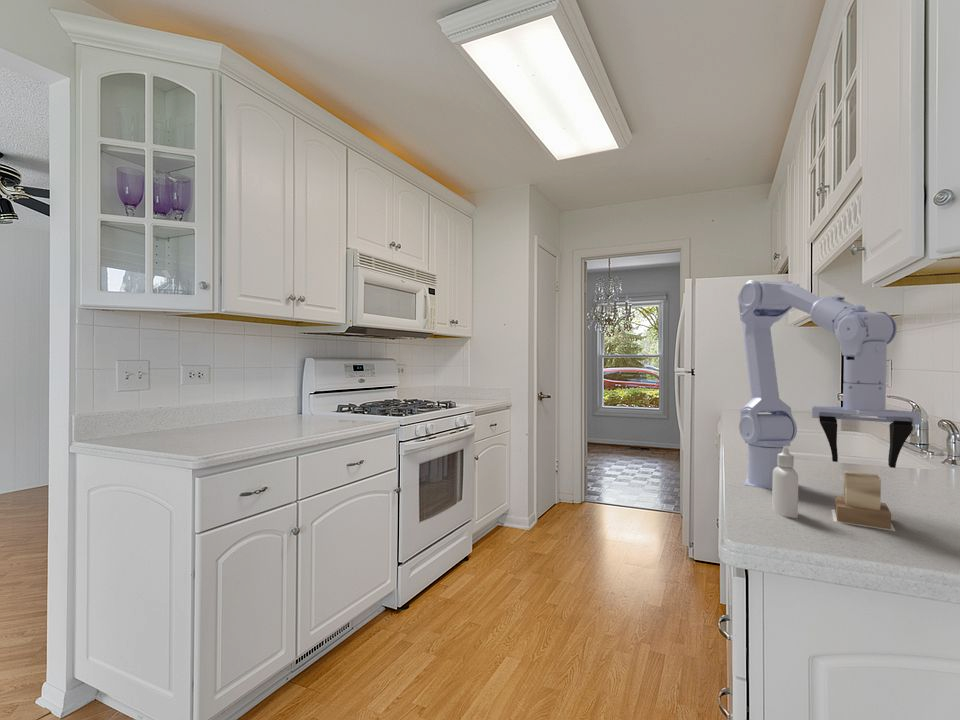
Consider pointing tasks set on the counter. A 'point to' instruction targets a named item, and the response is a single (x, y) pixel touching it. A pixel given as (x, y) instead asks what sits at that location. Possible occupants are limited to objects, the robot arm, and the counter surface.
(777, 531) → the counter surface
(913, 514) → the counter surface
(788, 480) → the eye dropper bottle
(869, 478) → the beech block
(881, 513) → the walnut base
